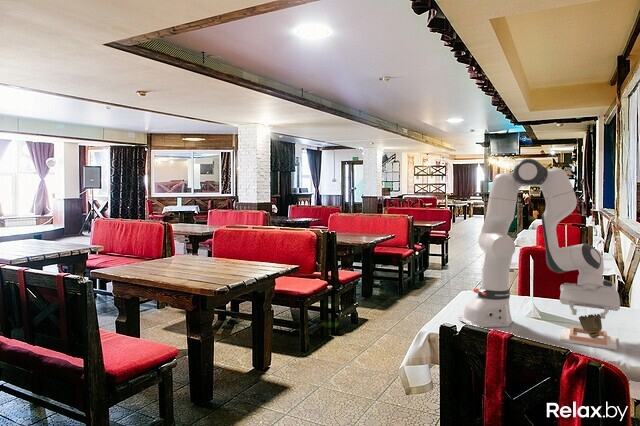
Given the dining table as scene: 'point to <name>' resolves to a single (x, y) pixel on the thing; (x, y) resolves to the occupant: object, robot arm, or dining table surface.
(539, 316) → the dining table surface
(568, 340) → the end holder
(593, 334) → the cup
